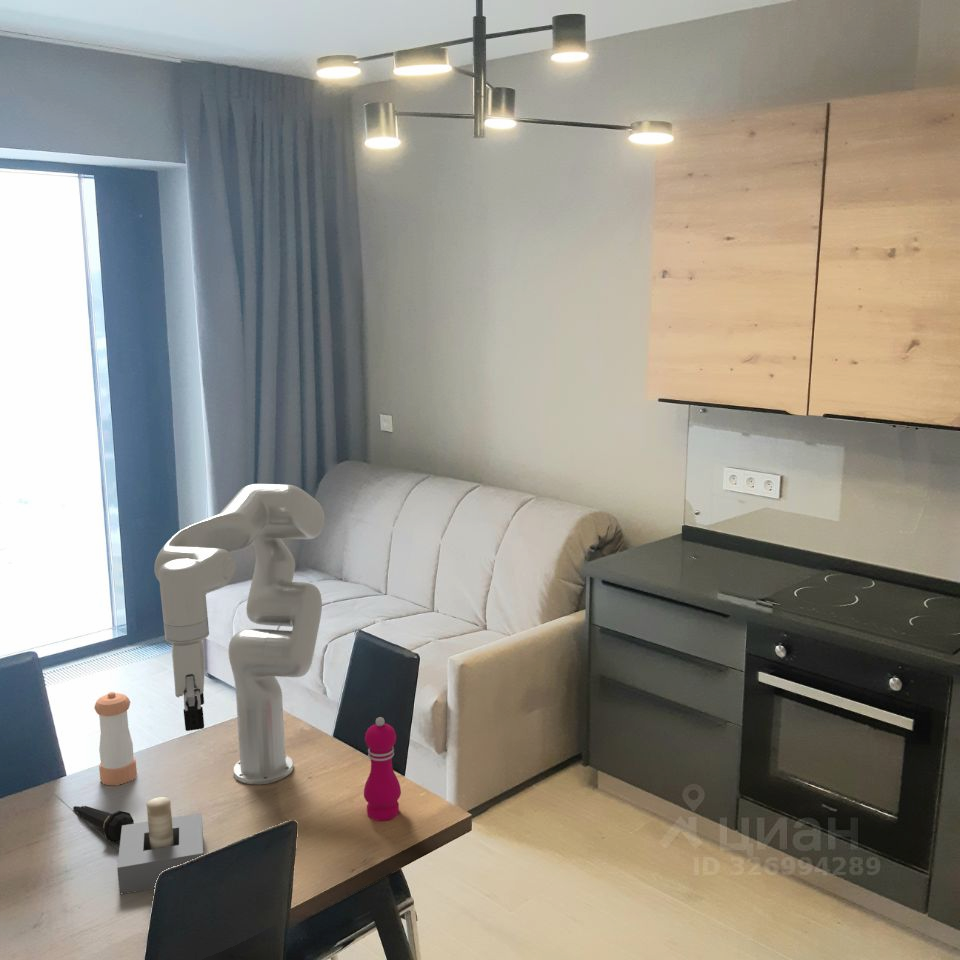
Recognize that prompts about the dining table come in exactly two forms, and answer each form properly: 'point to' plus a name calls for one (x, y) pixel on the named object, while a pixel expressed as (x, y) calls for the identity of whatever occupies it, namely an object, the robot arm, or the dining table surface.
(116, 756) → the salt shaker
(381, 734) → the pepper mill
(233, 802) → the dining table surface
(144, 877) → the socket block
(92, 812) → the microphone
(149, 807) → the peg
